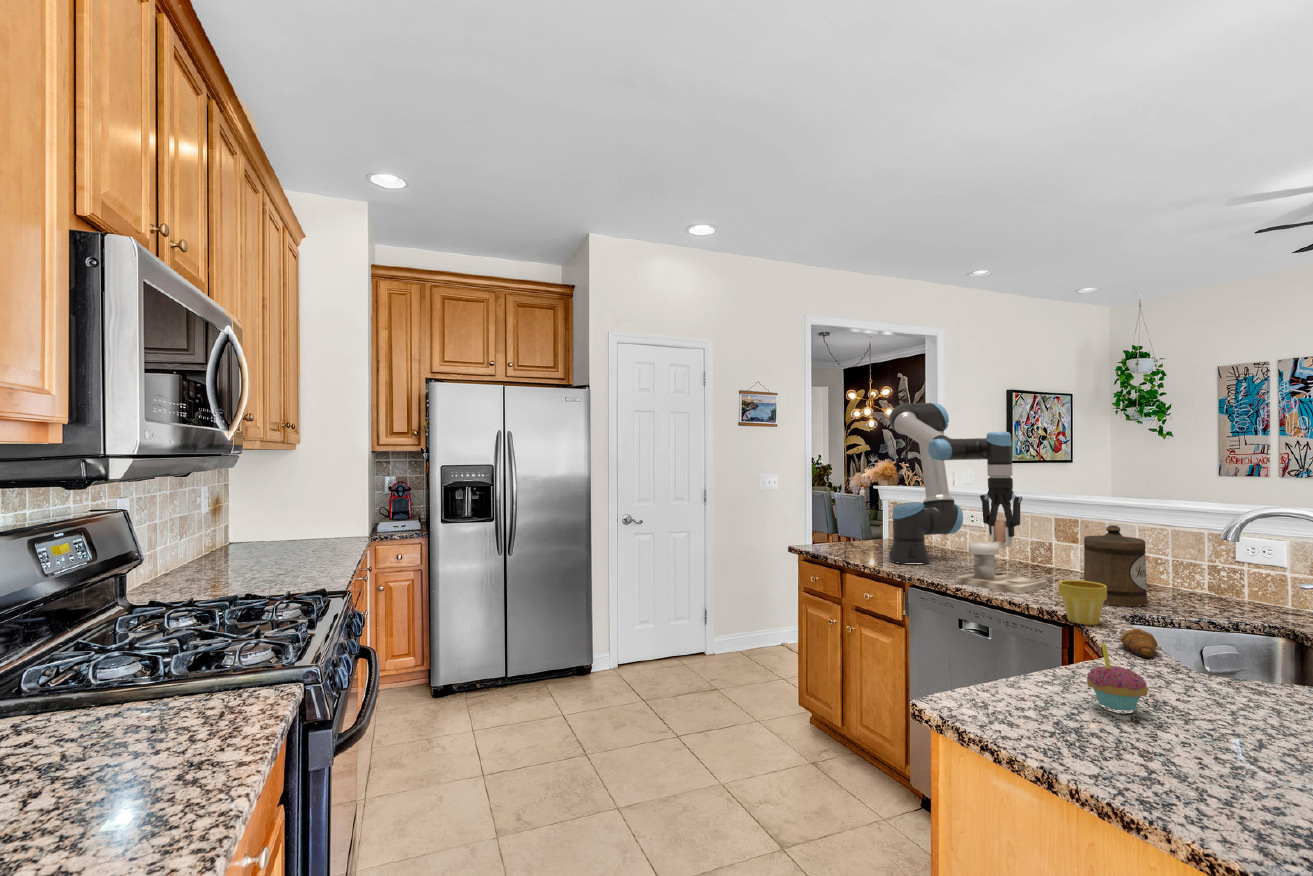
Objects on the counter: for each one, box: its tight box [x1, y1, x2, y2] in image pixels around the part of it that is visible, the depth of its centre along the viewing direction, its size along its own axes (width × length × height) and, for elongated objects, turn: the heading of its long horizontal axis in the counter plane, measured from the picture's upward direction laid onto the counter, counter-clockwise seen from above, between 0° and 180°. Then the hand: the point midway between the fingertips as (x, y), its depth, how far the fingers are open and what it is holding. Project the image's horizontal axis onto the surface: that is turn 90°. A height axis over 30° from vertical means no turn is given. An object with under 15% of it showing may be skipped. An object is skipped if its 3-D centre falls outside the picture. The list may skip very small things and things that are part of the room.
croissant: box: [1119, 628, 1159, 659], centre depth 141 cm, size 14×7×5 cm, turn 156°
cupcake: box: [1086, 638, 1149, 711], centre depth 110 cm, size 9×8×12 cm
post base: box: [955, 554, 1048, 595], centre depth 209 cm, size 21×16×10 cm
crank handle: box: [968, 519, 1007, 556], centre depth 213 cm, size 18×9×10 cm, turn 122°
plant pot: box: [1058, 579, 1107, 626], centre depth 164 cm, size 10×10×10 cm
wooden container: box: [1083, 524, 1148, 607], centre depth 185 cm, size 15×15×22 cm
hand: (1002, 545), depth 217 cm, fingers closed on crank handle, 4 cm apart
